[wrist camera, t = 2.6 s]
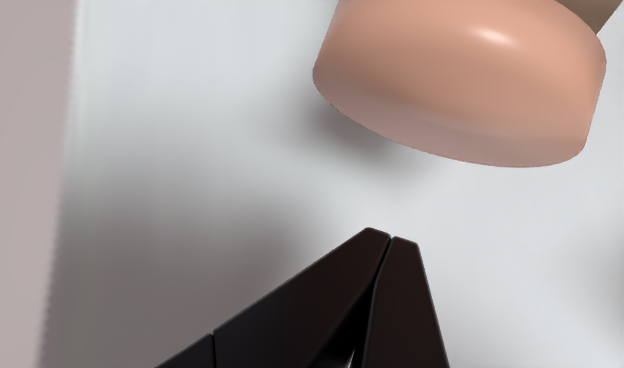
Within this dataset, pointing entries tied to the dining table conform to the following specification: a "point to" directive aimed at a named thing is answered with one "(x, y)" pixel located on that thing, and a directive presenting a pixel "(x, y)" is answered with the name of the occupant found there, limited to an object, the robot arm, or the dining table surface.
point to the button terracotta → (466, 76)
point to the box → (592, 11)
